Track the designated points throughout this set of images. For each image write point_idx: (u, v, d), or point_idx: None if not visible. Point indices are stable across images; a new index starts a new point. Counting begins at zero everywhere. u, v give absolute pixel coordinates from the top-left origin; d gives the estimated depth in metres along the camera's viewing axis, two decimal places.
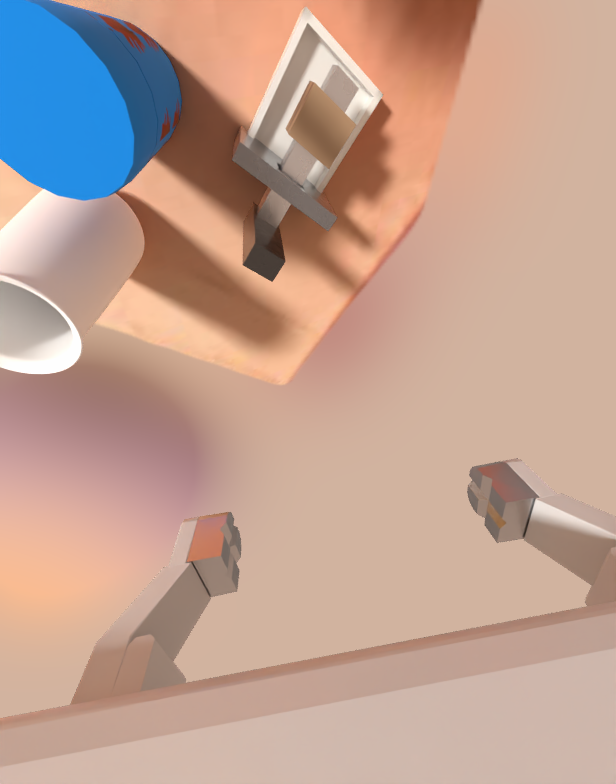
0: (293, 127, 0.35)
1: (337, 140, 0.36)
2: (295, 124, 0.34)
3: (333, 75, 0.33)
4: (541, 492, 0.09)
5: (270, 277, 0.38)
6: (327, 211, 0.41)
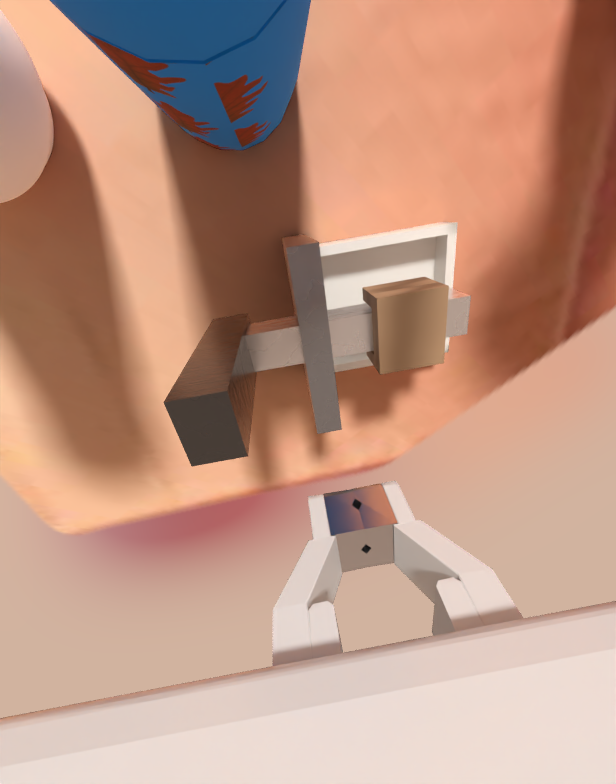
0: (388, 298, 0.22)
1: (415, 357, 0.24)
2: (393, 298, 0.22)
3: (459, 298, 0.24)
4: (401, 518, 0.09)
5: (194, 458, 0.16)
6: (337, 413, 0.25)
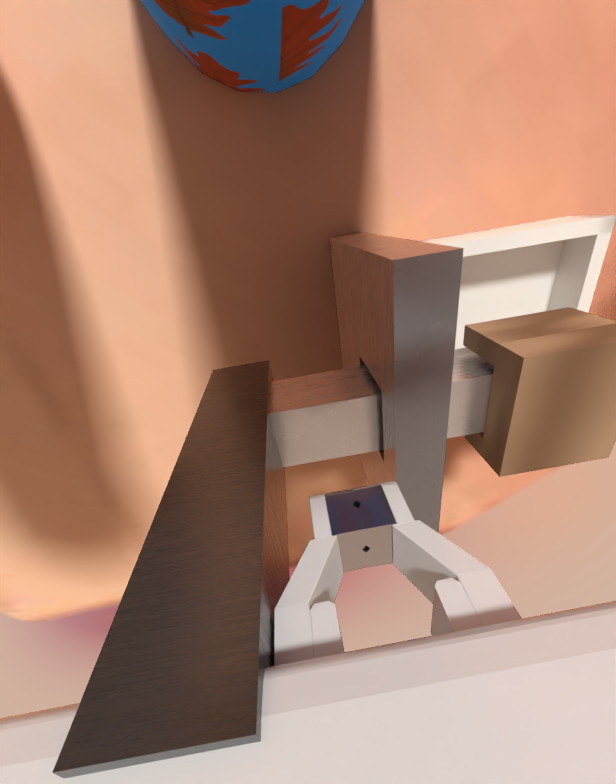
0: (545, 357, 0.11)
1: (564, 450, 0.14)
2: (554, 357, 0.11)
3: None
4: (400, 518, 0.09)
5: None
6: None
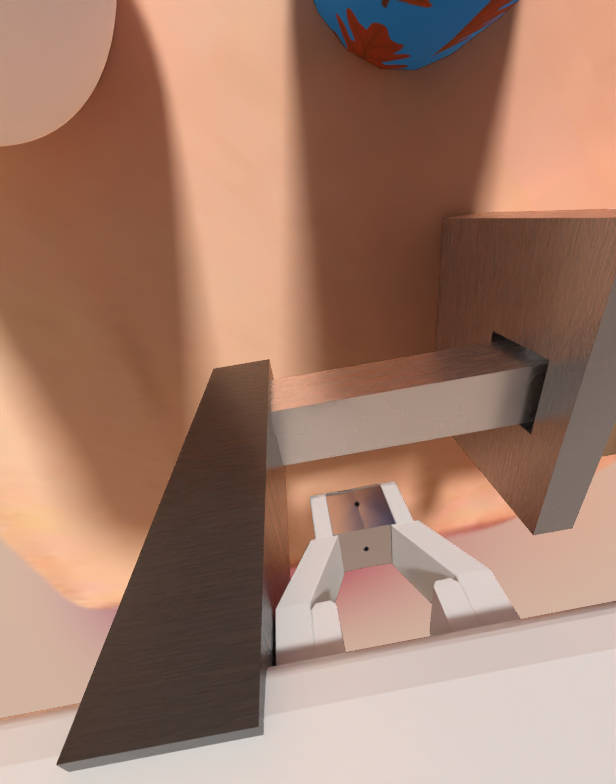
0: None
1: None
2: None
3: None
4: (399, 518, 0.09)
5: None
6: (578, 506, 0.15)
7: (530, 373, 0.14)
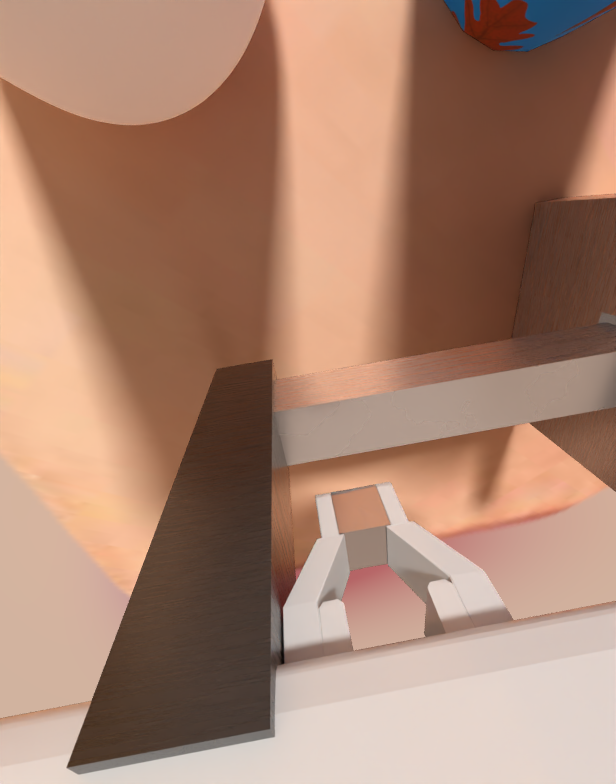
0: None
1: None
2: None
3: None
4: (394, 519, 0.09)
5: None
6: None
7: (534, 373, 0.14)
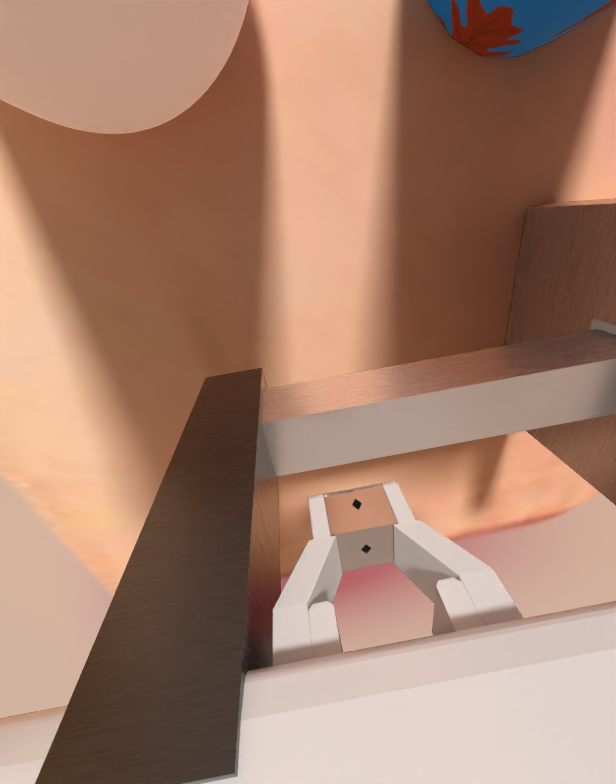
0: None
1: None
2: None
3: None
4: (401, 518, 0.09)
5: None
6: None
7: (525, 382, 0.13)
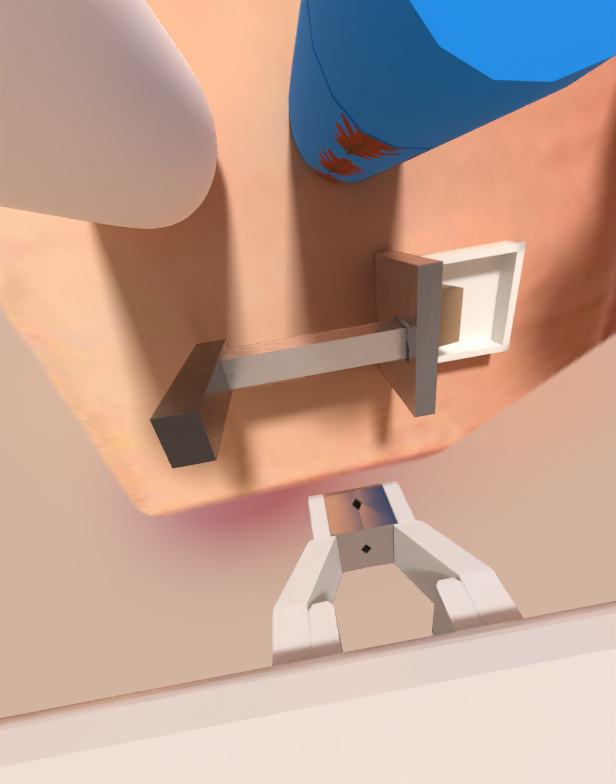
0: None
1: (441, 338, 0.34)
2: None
3: (398, 330, 0.29)
4: (401, 518, 0.09)
5: (174, 462, 0.21)
6: (434, 400, 0.30)
7: (344, 342, 0.29)
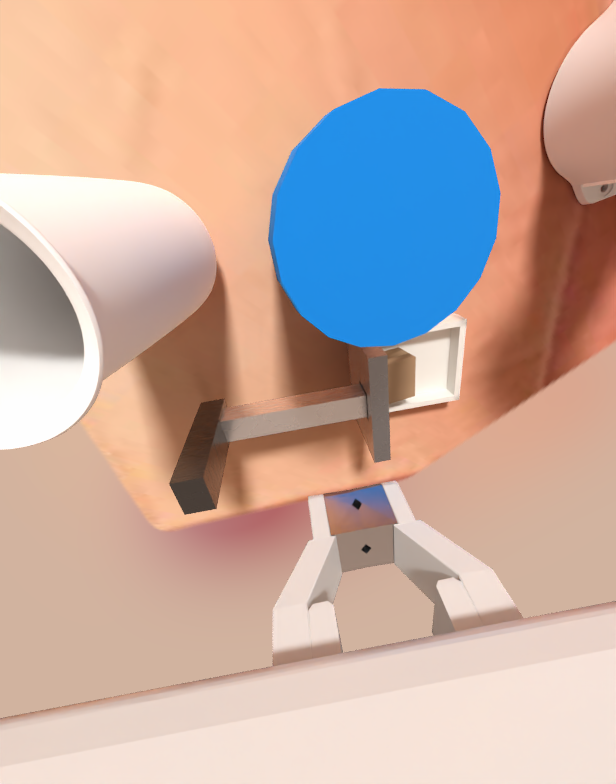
0: None
1: (400, 394, 0.42)
2: (388, 365, 0.39)
3: (358, 397, 0.37)
4: (401, 518, 0.09)
5: (185, 510, 0.29)
6: (389, 449, 0.38)
7: (316, 407, 0.37)
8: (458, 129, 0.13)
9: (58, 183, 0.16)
